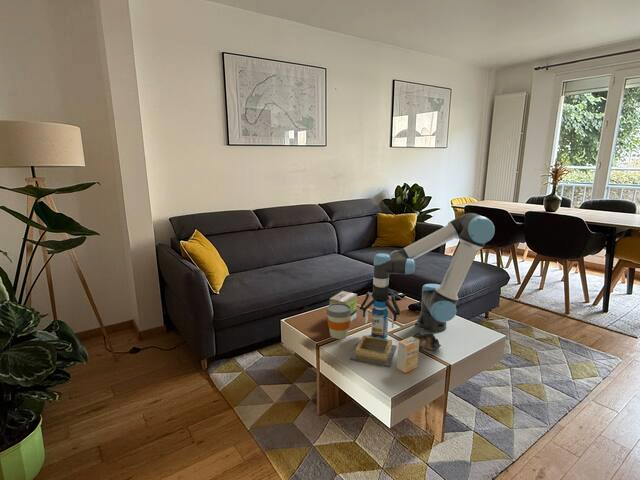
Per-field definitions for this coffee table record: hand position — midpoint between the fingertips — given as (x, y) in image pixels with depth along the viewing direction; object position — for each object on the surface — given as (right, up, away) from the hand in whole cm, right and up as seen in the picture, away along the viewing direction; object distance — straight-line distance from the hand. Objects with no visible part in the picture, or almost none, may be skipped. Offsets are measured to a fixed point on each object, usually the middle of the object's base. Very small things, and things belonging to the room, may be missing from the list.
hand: (379, 324), depth 180 cm
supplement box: (+8, -13, -27) cm, 30 cm away
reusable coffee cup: (-20, -6, +4) cm, 21 cm away
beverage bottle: (0, -7, +1) cm, 7 cm away
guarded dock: (-5, -10, -15) cm, 18 cm away
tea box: (-17, -3, +20) cm, 27 cm away
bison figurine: (+21, -9, -9) cm, 24 cm away
